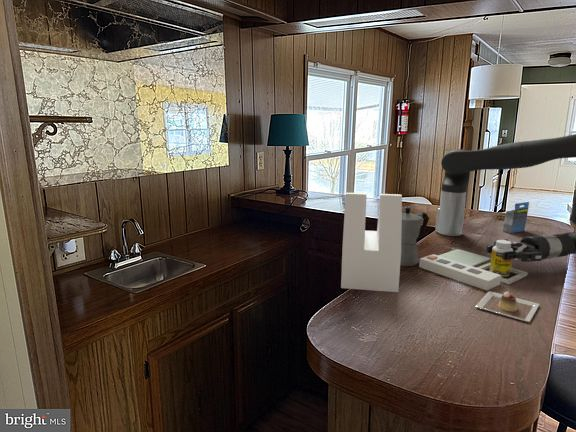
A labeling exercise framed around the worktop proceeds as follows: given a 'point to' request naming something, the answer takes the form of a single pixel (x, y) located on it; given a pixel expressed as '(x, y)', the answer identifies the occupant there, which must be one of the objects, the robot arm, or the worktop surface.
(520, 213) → the label tape box
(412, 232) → the coffeepot
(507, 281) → the white square frame
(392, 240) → the white slotted block
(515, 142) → the robot arm
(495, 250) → the supplement bottle
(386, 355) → the worktop surface
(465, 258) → the mat
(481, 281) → the power strip
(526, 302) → the dessert
